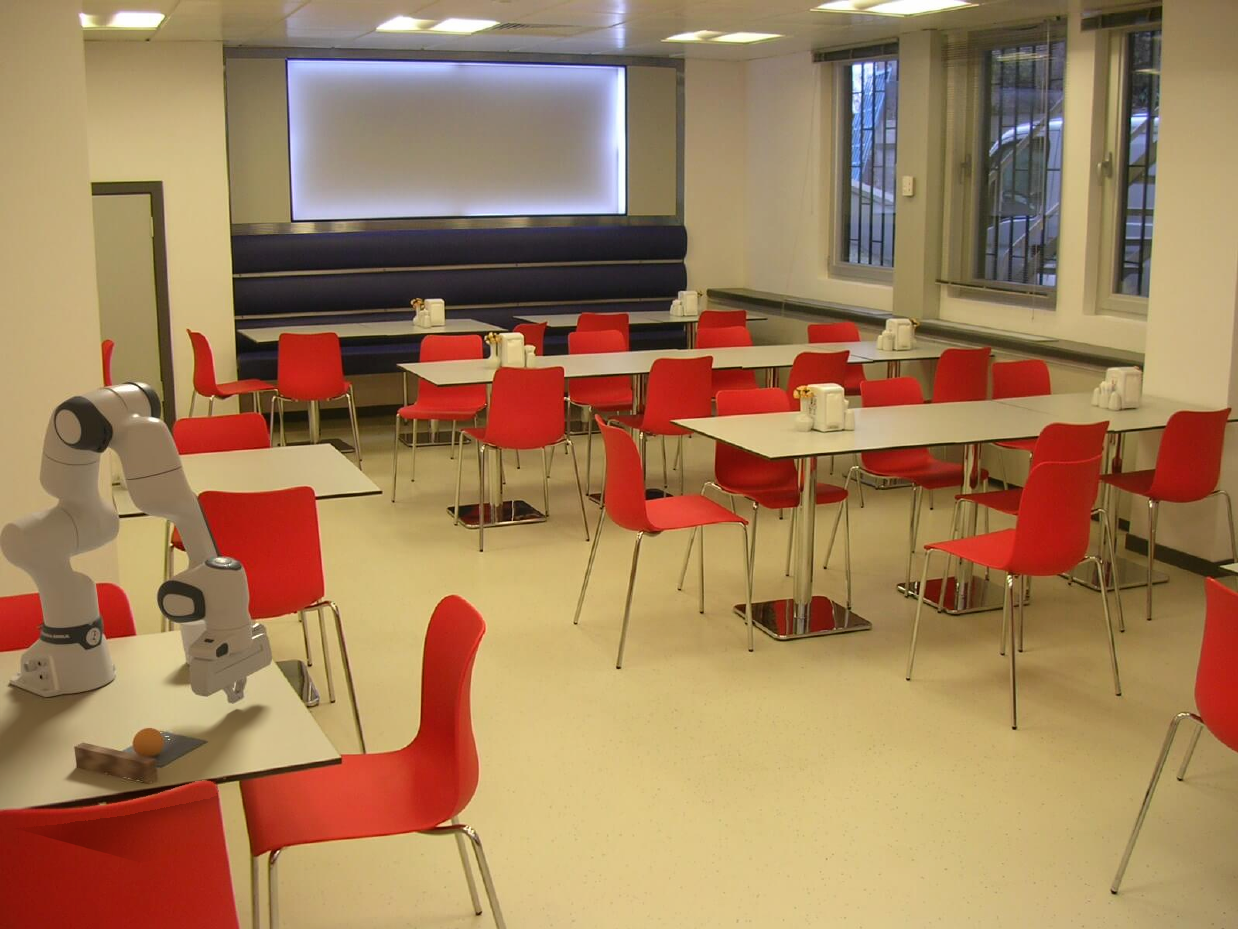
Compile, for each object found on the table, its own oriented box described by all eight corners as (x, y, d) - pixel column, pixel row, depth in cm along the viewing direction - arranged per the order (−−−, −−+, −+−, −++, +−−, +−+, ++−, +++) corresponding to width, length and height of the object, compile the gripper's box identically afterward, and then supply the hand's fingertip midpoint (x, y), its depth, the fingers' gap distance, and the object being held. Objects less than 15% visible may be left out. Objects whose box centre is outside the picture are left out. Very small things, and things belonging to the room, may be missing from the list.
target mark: (113, 756, 250) (113, 755, 250) (160, 731, 260) (160, 730, 260) (161, 767, 244) (161, 766, 244) (207, 741, 255) (207, 740, 255)
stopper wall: (76, 766, 246) (74, 746, 245) (85, 762, 247) (82, 742, 247) (149, 784, 238) (146, 763, 237) (157, 779, 240) (155, 758, 239)
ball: (142, 721, 251) (149, 745, 253) (123, 737, 246) (130, 762, 248) (165, 723, 249) (172, 748, 251) (146, 740, 244) (154, 765, 246)
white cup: (209, 668, 293) (205, 625, 291) (176, 666, 295) (172, 623, 292) (226, 655, 301) (222, 613, 298) (194, 653, 302) (190, 612, 300)
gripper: (252, 618, 278) (258, 680, 281) (181, 651, 260) (188, 717, 263) (276, 622, 275) (281, 685, 278) (206, 655, 257) (213, 722, 260)
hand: (235, 700), depth 270 cm, fingers closed
